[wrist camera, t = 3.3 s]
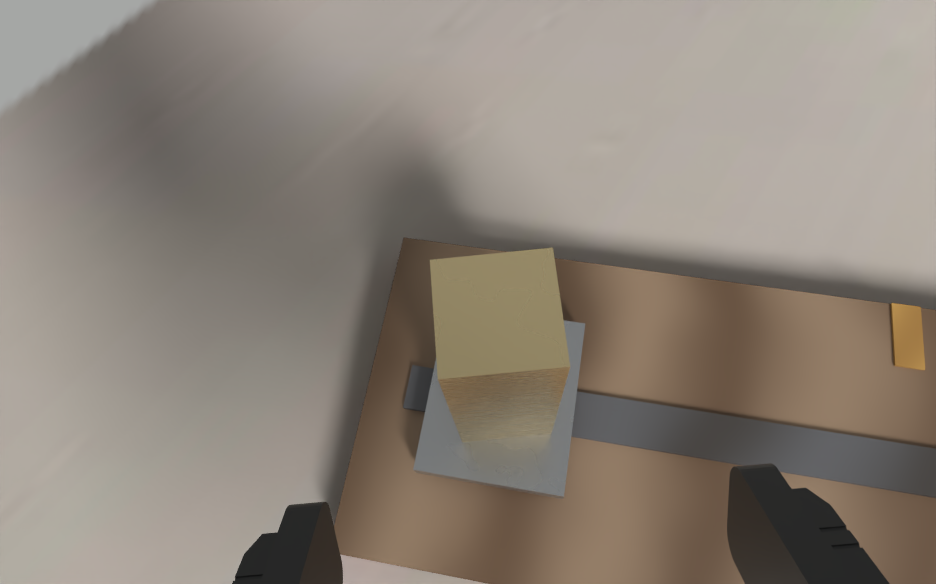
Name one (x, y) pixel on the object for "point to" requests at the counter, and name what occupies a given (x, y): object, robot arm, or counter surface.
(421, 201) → the counter surface
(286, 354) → the counter surface
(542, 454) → the fader lever
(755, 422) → the fader board
